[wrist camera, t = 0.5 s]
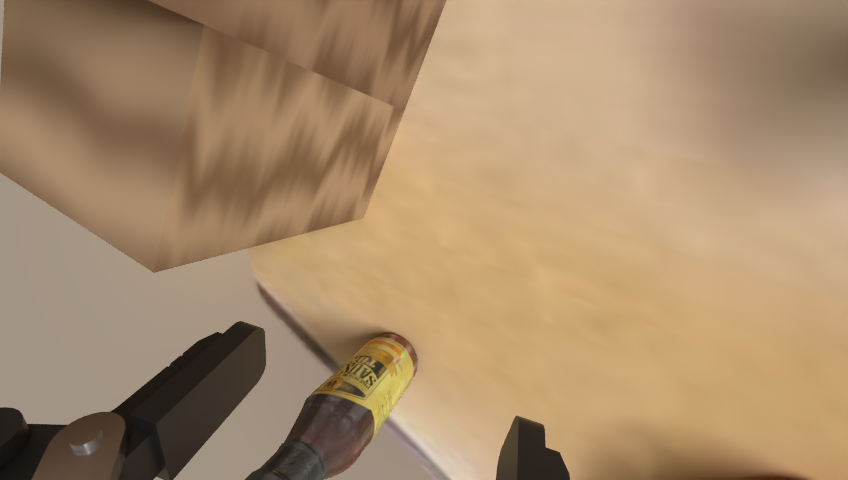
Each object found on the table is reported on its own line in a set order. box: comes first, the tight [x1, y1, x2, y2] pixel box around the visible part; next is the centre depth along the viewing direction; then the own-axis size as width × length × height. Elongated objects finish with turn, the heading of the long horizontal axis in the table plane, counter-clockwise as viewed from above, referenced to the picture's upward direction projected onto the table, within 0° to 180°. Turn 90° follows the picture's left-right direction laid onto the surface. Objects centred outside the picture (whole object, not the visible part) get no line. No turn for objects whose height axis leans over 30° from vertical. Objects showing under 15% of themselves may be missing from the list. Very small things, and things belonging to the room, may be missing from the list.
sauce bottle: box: [245, 333, 418, 480], centre depth 31 cm, size 6×6×20 cm
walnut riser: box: [0, 0, 446, 272], centre depth 21 cm, size 23×12×32 cm, turn 156°
